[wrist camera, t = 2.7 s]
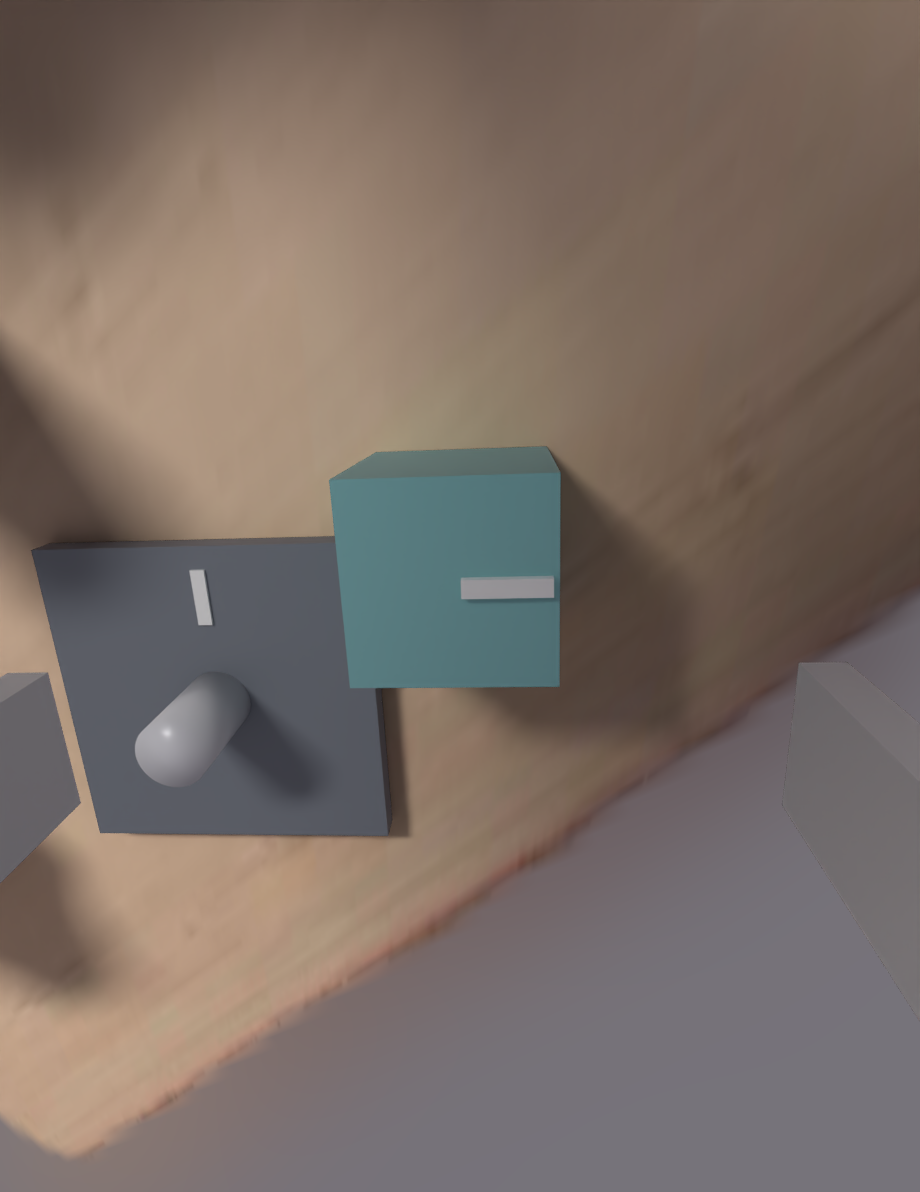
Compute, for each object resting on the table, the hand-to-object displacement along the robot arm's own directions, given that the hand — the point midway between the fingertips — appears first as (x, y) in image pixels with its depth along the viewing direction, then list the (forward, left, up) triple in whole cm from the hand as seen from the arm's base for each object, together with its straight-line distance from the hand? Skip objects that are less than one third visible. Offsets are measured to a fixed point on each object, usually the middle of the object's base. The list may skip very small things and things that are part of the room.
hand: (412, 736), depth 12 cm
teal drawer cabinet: (0, 0, -17) cm, 17 cm away
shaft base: (-11, -7, -17) cm, 21 cm away
